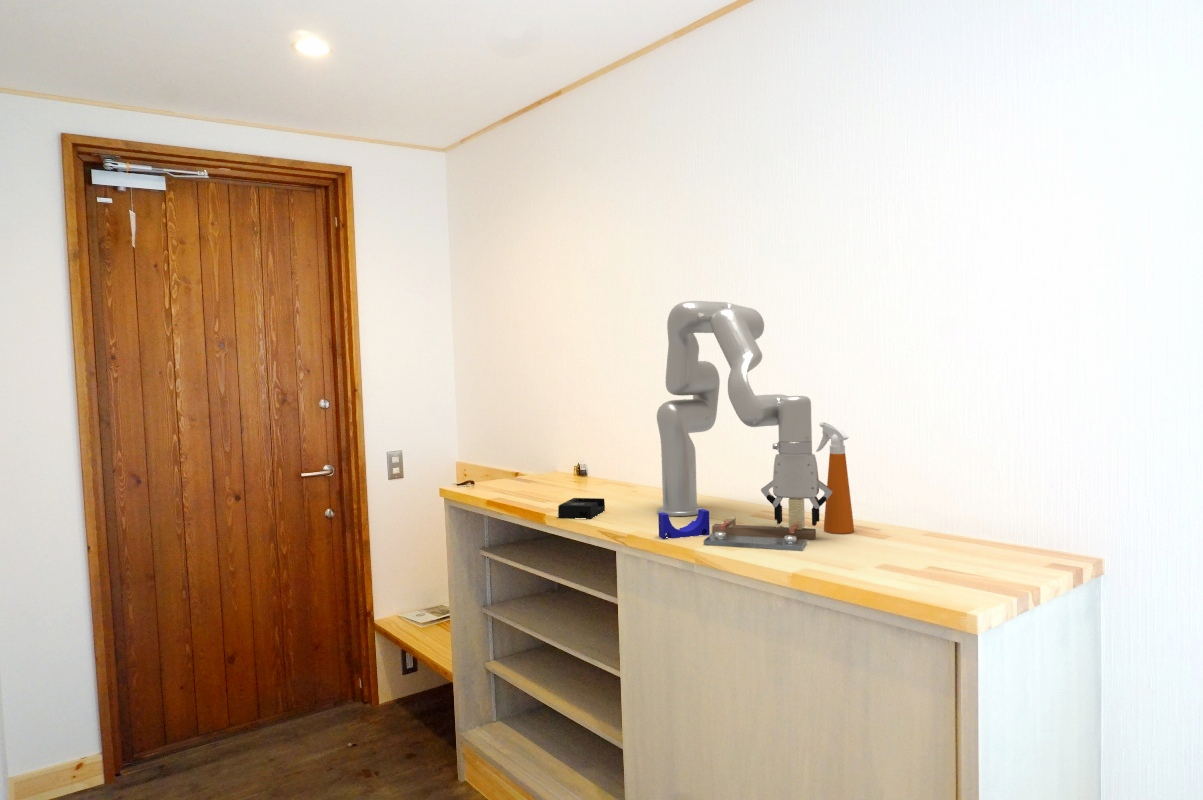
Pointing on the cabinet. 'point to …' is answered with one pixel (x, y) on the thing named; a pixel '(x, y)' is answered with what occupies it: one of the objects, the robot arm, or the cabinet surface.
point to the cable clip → (692, 529)
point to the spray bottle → (837, 482)
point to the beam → (761, 530)
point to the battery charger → (581, 508)
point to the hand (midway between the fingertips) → (796, 523)
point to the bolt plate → (756, 541)
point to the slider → (796, 514)
